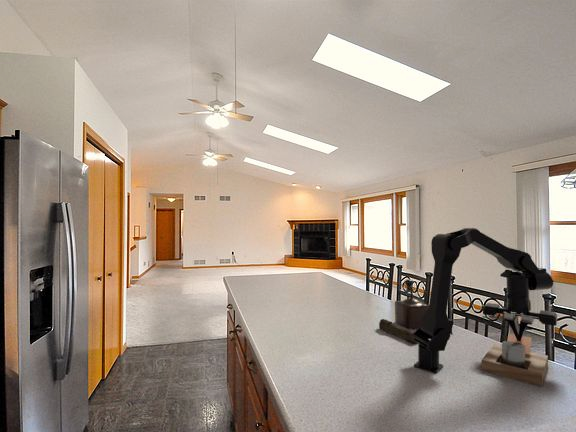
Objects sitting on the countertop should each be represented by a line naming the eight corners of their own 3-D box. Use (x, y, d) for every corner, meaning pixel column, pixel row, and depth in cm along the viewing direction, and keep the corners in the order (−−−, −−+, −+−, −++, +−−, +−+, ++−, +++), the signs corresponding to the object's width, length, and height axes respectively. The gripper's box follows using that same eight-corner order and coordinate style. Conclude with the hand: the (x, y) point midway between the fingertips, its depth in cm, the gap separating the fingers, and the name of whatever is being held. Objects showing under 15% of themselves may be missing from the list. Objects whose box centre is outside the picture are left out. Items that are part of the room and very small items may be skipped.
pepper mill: (431, 328, 134) (431, 284, 135) (407, 329, 132) (407, 285, 133) (410, 317, 150) (410, 278, 150) (388, 318, 147) (388, 278, 148)
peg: (523, 378, 90) (523, 349, 90) (500, 372, 94) (500, 344, 94) (526, 372, 94) (526, 344, 94) (503, 366, 98) (503, 339, 98)
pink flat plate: (529, 356, 98) (529, 354, 97) (505, 351, 102) (505, 349, 101) (531, 340, 102) (531, 337, 102) (508, 335, 106) (508, 333, 106)
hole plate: (542, 386, 86) (542, 375, 86) (481, 370, 95) (481, 359, 95) (548, 365, 99) (547, 355, 99) (494, 353, 108) (494, 344, 108)
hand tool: (420, 343, 117) (421, 330, 117) (412, 345, 115) (412, 331, 115) (384, 328, 134) (384, 317, 134) (376, 329, 132) (377, 318, 132)
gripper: (557, 290, 102) (558, 340, 102) (489, 283, 115) (490, 327, 115) (555, 297, 94) (556, 351, 94) (481, 289, 107) (483, 336, 107)
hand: (519, 340), depth 103 cm, fingers closed, pressing on pink flat plate
